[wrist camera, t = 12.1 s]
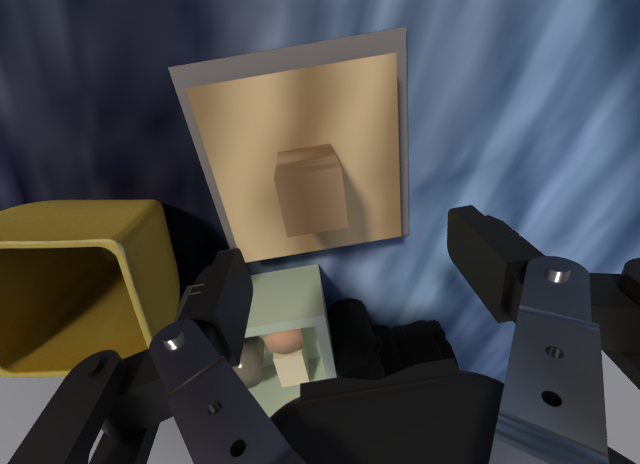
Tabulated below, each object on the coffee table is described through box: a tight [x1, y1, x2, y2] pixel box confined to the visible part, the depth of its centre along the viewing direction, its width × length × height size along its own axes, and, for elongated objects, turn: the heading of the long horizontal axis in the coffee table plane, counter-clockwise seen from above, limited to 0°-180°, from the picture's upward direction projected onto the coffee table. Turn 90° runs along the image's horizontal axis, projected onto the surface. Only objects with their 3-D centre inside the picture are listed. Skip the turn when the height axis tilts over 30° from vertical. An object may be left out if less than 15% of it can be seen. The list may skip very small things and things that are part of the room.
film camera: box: [328, 298, 459, 380], centre depth 27 cm, size 15×10×9 cm, turn 16°
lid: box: [185, 53, 401, 263], centre depth 18 cm, size 12×12×7 cm
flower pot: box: [0, 200, 180, 378], centre depth 19 cm, size 9×9×9 cm
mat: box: [168, 27, 409, 249], centre depth 22 cm, size 14×14×1 cm
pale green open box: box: [174, 264, 338, 418], centre depth 26 cm, size 11×11×6 cm
